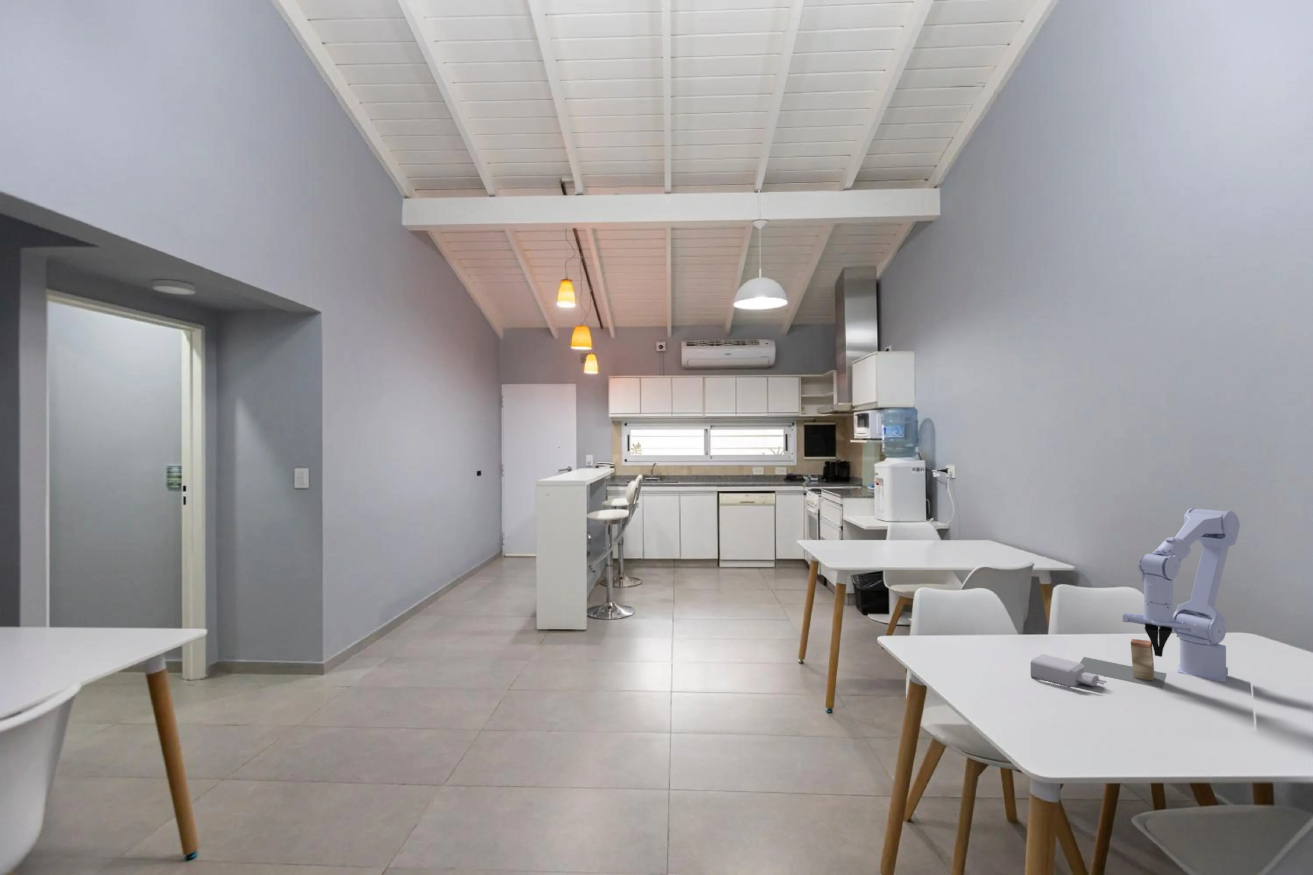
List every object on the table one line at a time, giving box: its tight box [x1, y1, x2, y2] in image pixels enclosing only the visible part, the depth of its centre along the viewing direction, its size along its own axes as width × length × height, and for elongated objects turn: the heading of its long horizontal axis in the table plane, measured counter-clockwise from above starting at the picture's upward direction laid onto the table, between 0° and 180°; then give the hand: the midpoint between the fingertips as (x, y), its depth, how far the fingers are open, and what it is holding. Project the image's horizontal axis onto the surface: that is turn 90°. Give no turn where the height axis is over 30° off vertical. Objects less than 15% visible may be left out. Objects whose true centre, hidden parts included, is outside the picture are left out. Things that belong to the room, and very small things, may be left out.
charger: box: [1030, 653, 1107, 688], centre depth 156 cm, size 5×9×15 cm
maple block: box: [1130, 638, 1155, 681], centre depth 159 cm, size 4×4×9 cm
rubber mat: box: [1079, 656, 1167, 689], centre depth 162 cm, size 18×14×1 cm
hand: (1158, 655), depth 156 cm, fingers closed
